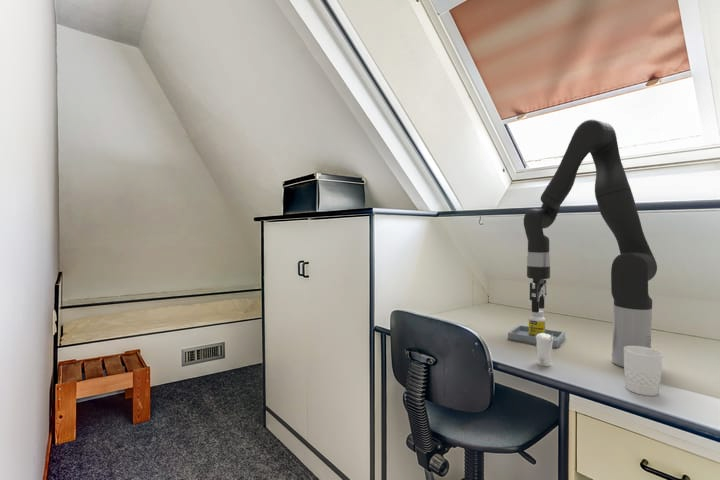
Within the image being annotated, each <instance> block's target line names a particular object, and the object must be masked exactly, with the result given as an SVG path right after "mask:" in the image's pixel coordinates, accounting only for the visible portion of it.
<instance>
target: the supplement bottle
mask: <svg viewBox="0 0 720 480" xmlns="http://www.w3.org/2000/svg"><path fill="white" fill-rule="evenodd" d="M544 313H545V312H544V310H542V309H539V312H538V313H536V312H532V309H531V312H530V314H531V315H529V317H528V326H529V336H534V337H536V335H537V334H539V333H545V329H546V318H545V317H544V315H545V314H544Z"/></svg>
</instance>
